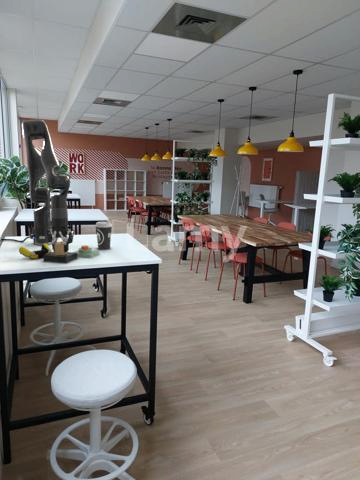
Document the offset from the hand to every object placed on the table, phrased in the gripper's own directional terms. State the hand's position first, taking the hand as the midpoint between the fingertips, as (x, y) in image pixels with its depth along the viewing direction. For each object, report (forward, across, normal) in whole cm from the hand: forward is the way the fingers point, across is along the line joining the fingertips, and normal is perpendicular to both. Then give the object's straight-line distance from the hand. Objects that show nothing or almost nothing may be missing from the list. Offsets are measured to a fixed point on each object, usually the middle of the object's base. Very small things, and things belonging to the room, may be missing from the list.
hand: (60, 251), depth 165 cm
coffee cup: (+4, +8, +31) cm, 32 cm away
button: (+1, +6, +13) cm, 14 cm away
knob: (+1, 0, 0) cm, 1 cm away
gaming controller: (+4, -14, +2) cm, 15 cm away
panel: (+4, 0, 0) cm, 4 cm away
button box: (+4, +6, +13) cm, 15 cm away
